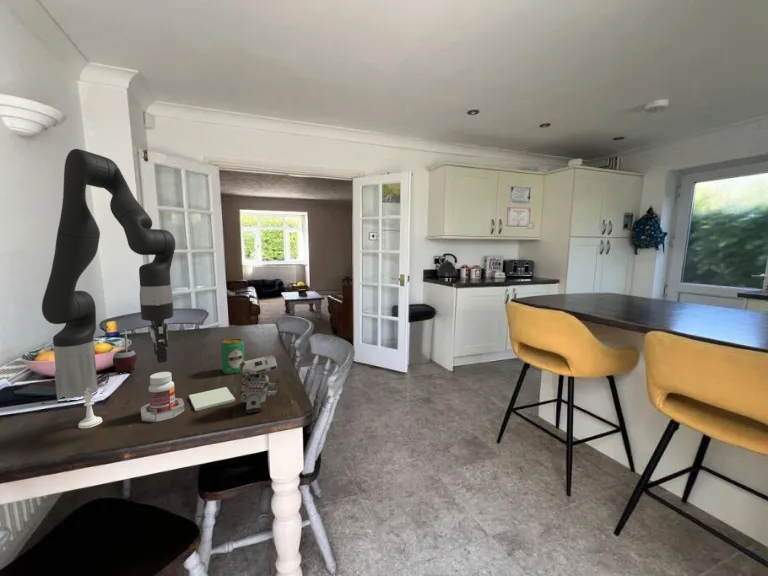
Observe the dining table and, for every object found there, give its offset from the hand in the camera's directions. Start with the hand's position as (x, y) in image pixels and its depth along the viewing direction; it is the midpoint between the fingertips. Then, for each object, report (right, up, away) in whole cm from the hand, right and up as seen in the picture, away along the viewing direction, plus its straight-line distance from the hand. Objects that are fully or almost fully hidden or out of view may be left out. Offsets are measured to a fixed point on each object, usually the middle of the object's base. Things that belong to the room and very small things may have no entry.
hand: (160, 357), depth 95 cm
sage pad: (+9, -15, +11) cm, 21 cm away
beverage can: (+5, -13, +35) cm, 38 cm away
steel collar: (0, -16, +2) cm, 16 cm away
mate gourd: (-35, -12, +32) cm, 49 cm away
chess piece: (-15, -17, -5) cm, 23 cm away
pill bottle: (0, -16, +2) cm, 17 cm away
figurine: (+26, -16, +7) cm, 31 cm away
